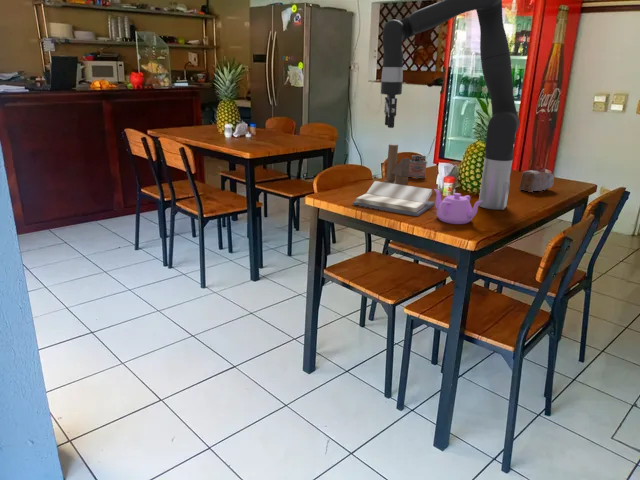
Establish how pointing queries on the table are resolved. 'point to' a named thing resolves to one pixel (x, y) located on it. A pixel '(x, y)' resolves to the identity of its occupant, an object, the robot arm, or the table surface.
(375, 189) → the loose plank
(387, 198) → the white flat slab
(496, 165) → the robot arm
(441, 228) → the table surface
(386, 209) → the underlay mat
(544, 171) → the food item
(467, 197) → the teapot
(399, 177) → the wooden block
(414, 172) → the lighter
